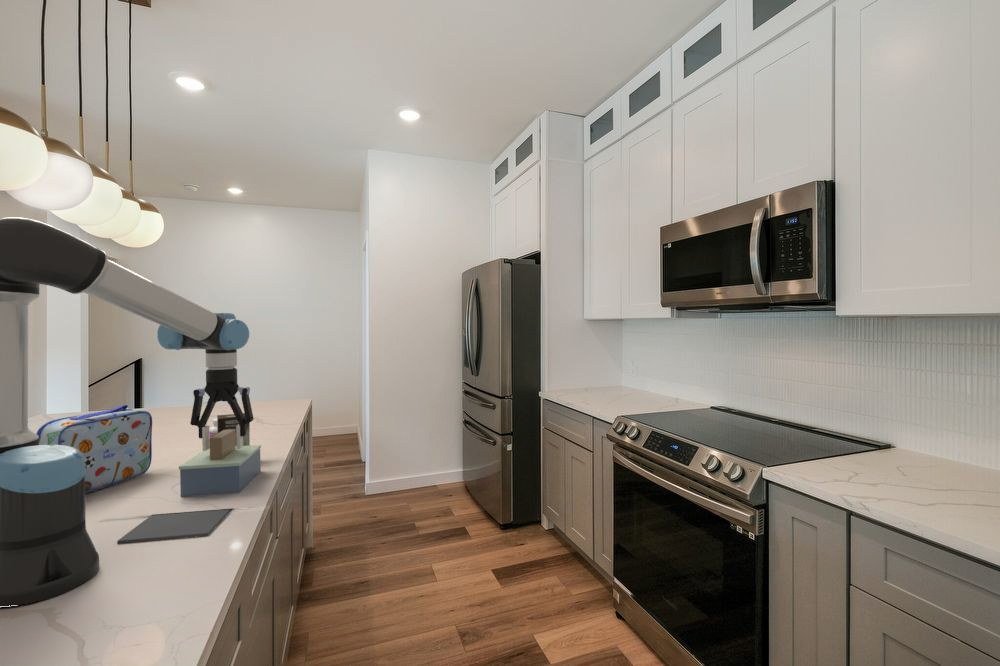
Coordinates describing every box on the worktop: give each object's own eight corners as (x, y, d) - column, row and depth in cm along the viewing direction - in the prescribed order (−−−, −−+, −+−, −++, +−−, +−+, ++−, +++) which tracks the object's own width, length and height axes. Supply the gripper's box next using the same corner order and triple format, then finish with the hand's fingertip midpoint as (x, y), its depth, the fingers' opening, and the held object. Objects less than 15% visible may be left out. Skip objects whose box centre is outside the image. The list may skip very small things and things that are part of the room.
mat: (207, 535, 99) (207, 533, 99) (117, 543, 96) (117, 540, 96) (243, 497, 121) (243, 495, 121) (170, 503, 117) (170, 500, 117)
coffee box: (217, 469, 144) (216, 418, 144) (216, 464, 150) (215, 415, 149) (250, 464, 149) (249, 415, 149) (248, 459, 155) (248, 412, 154)
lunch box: (133, 469, 145) (132, 399, 145) (160, 471, 143) (159, 400, 143) (28, 502, 118) (26, 417, 118) (60, 505, 116) (58, 418, 116)
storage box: (239, 495, 122) (239, 465, 122) (180, 499, 120) (180, 469, 120) (260, 473, 140) (260, 447, 140) (209, 477, 137) (209, 450, 137)
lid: (239, 470, 122) (239, 440, 122) (178, 474, 119) (178, 443, 119) (261, 451, 140) (260, 425, 140) (208, 454, 137) (208, 427, 137)
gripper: (265, 365, 135) (266, 443, 135) (186, 367, 131) (188, 447, 131) (257, 368, 128) (258, 450, 128) (173, 370, 123) (175, 454, 124)
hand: (223, 448), depth 130 cm, fingers open, 8 cm apart
